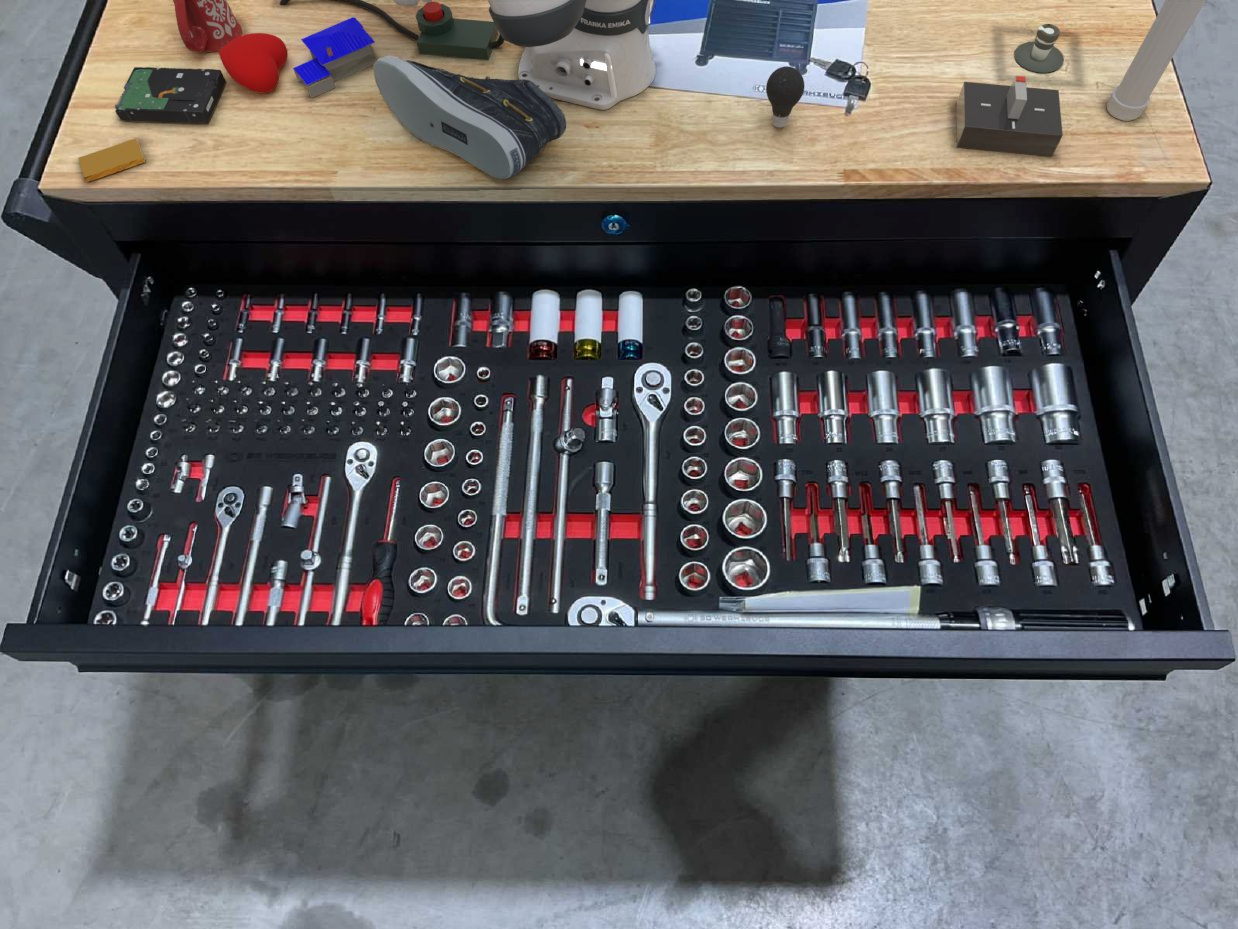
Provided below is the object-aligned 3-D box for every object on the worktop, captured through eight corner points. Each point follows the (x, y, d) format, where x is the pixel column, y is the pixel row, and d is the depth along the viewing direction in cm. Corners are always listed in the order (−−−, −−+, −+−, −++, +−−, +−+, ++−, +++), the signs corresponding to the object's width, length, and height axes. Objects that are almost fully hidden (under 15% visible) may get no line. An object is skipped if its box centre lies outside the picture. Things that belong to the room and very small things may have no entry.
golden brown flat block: (82, 163, 140) (88, 183, 137) (78, 157, 139) (84, 177, 136) (139, 143, 141) (146, 162, 139) (135, 138, 140) (142, 157, 138)
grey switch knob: (1018, 119, 133) (1027, 98, 129) (1007, 118, 133) (1016, 97, 130) (1017, 96, 135) (1026, 75, 132) (1006, 95, 135) (1015, 74, 132)
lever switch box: (956, 147, 136) (965, 125, 132) (956, 103, 141) (964, 80, 137) (1051, 156, 134) (1063, 134, 131) (1048, 111, 139) (1059, 88, 135)
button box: (413, 53, 150) (408, 31, 147) (426, 23, 154) (421, 1, 150) (488, 60, 149) (484, 38, 145) (499, 29, 152) (496, 8, 149)
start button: (423, 21, 148) (420, 11, 147) (428, 10, 150) (425, 0, 148) (440, 22, 148) (438, 13, 147) (445, 11, 149) (443, 1, 148)
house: (283, 61, 150) (270, 31, 145) (358, 29, 154) (349, -2, 149) (311, 98, 145) (300, 68, 140) (389, 63, 149) (380, 33, 144)
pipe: (1140, 125, 137) (1257, -71, 111) (1098, 116, 138) (1204, -80, 112) (1143, 102, 139) (1259, -96, 113) (1101, 93, 141) (1206, -105, 114)
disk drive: (228, 82, 148) (141, 79, 149) (221, 68, 146) (132, 65, 146) (210, 126, 143) (120, 123, 144) (203, 111, 141) (111, 108, 141)
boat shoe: (370, 106, 142) (433, 70, 149) (510, 207, 135) (570, 165, 142) (362, 41, 133) (430, 6, 139) (512, 147, 126) (576, 105, 132)
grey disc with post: (1078, 84, 142) (1092, 56, 137) (1000, 77, 143) (1011, 50, 139) (1073, 35, 147) (1086, 8, 143) (998, 29, 149) (1009, 1, 144)
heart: (226, 14, 145) (289, 30, 147) (231, 42, 150) (292, 57, 152) (205, 61, 140) (271, 77, 141) (210, 89, 144) (274, 104, 146)
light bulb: (795, 140, 138) (805, 85, 129) (758, 136, 138) (766, 80, 129) (799, 115, 140) (809, 59, 131) (763, 111, 141) (771, 55, 132)
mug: (217, -58, 144) (249, 20, 156) (163, -60, 145) (198, 17, 156) (192, -10, 138) (227, 67, 150) (135, -12, 138) (174, 65, 150)
